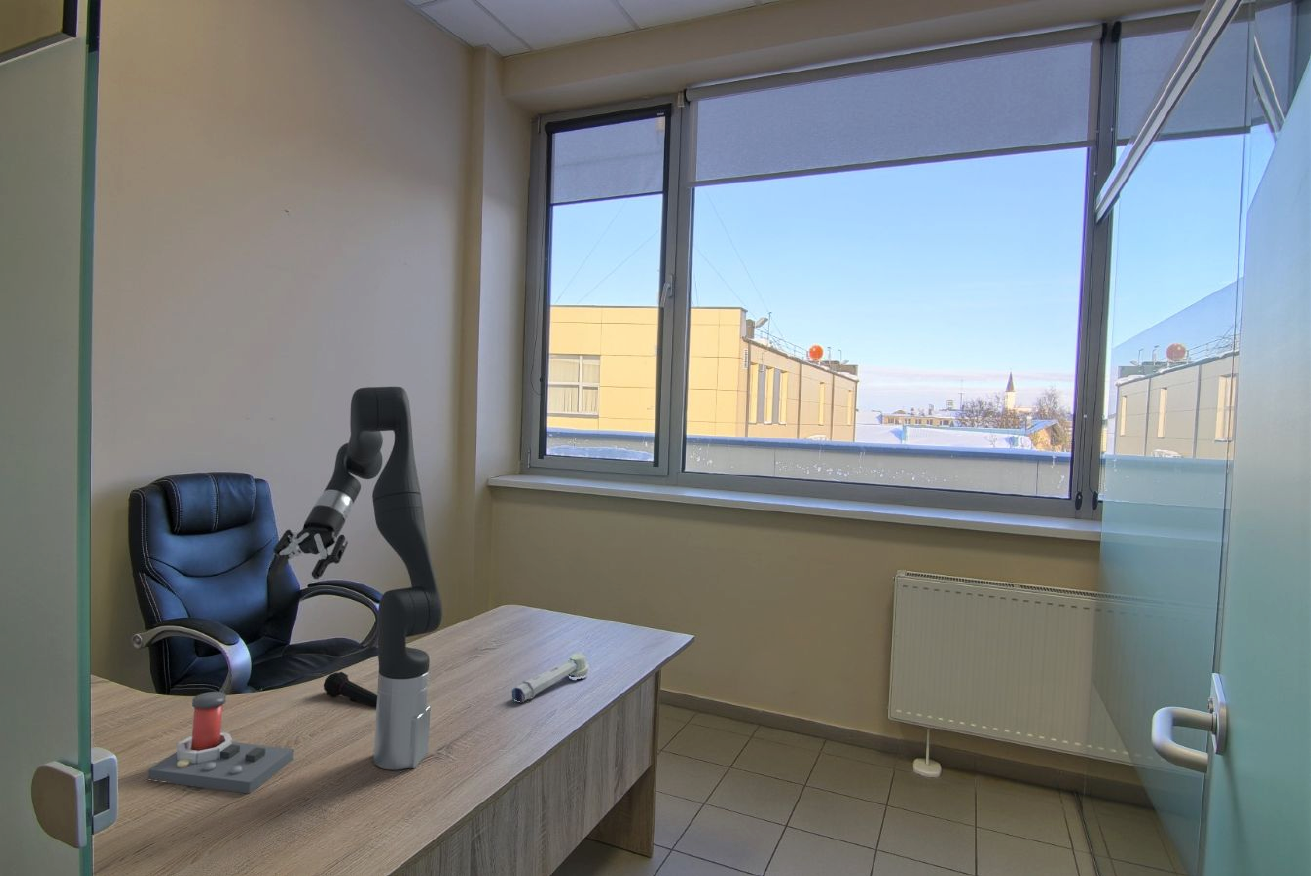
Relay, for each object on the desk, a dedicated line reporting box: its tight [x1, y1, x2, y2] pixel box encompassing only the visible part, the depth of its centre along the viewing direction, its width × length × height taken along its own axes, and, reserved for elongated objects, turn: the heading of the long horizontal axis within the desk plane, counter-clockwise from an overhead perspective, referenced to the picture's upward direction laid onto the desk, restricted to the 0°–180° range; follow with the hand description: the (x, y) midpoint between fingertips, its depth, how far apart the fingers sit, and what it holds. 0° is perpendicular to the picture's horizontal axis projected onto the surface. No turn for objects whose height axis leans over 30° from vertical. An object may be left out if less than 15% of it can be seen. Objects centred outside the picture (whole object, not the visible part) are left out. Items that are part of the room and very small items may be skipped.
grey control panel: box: [147, 731, 294, 794], centre depth 125 cm, size 19×12×4 cm, turn 84°
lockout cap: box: [191, 691, 227, 751], centre depth 127 cm, size 5×5×10 cm
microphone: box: [323, 671, 377, 708], centre depth 157 cm, size 6×6×20 cm
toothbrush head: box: [511, 652, 590, 703], centre depth 173 cm, size 5×7×25 cm
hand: (295, 575), depth 146 cm, fingers open, 8 cm apart
